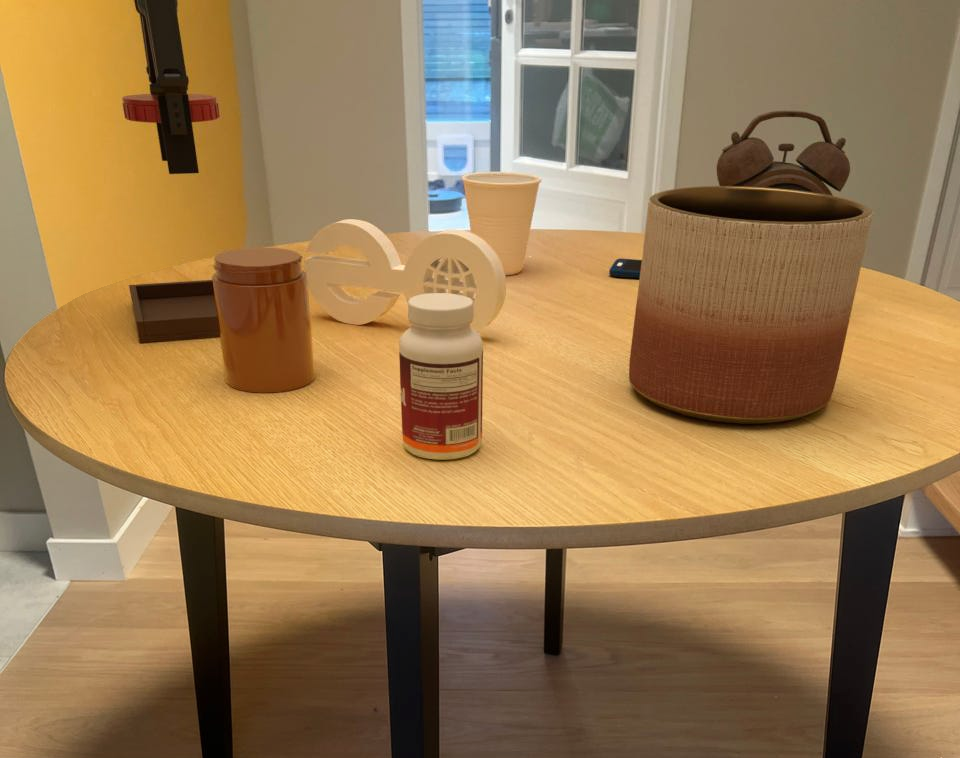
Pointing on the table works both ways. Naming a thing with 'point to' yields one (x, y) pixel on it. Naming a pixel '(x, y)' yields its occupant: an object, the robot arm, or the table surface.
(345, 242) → the cream logo sign
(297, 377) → the jar
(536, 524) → the table surface
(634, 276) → the cell phone
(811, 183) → the alarm clock
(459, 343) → the pill bottle
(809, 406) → the planter
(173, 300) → the tray
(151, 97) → the jar lid
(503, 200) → the cup
